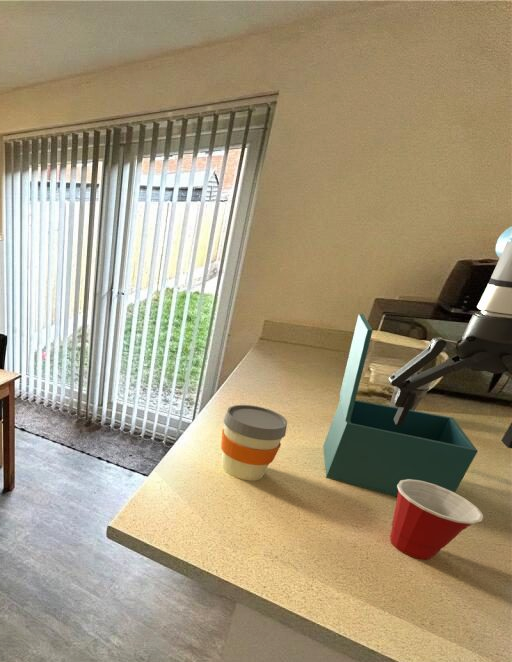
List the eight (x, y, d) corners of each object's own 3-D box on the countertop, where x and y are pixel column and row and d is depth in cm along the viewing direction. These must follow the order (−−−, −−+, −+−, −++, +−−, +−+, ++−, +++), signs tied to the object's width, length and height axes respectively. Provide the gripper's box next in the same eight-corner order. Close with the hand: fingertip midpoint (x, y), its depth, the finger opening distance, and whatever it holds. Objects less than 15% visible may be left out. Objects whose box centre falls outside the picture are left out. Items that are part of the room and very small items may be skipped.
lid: (363, 313, 92) (358, 313, 93) (372, 329, 80) (367, 329, 81) (343, 395, 100) (339, 395, 100) (349, 422, 87) (345, 421, 88)
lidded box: (426, 471, 95) (453, 417, 89) (445, 509, 83) (478, 450, 77) (323, 446, 106) (341, 397, 100) (326, 477, 94) (346, 423, 88)
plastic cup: (457, 583, 67) (491, 529, 62) (373, 550, 73) (397, 499, 69) (450, 546, 74) (480, 495, 69) (374, 519, 81) (397, 471, 76)
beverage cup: (382, 421, 118) (408, 359, 110) (378, 412, 123) (403, 352, 115) (415, 428, 114) (445, 364, 106) (410, 418, 119) (438, 356, 111)
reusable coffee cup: (202, 459, 102) (214, 407, 96) (243, 452, 104) (256, 401, 98) (240, 489, 90) (255, 432, 84) (284, 480, 93) (302, 425, 87)
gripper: (629, 319, 57) (549, 444, 65) (397, 301, 70) (355, 407, 78) (667, 331, 51) (573, 466, 59) (406, 309, 64) (360, 422, 73)
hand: (449, 433), depth 69 cm, fingers open, 13 cm apart
